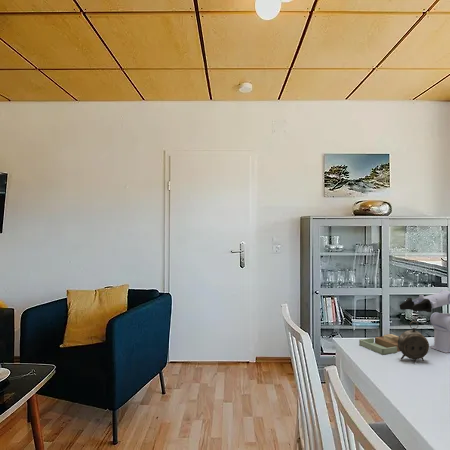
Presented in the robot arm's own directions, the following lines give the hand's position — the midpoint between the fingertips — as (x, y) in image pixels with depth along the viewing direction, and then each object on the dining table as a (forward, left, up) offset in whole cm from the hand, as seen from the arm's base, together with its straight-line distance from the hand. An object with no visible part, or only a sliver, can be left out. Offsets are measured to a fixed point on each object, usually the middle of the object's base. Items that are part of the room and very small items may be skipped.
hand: (406, 307), depth 161 cm
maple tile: (-1, -9, -16) cm, 19 cm away
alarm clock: (+5, +8, -20) cm, 22 cm away
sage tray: (+7, -9, -19) cm, 23 cm away
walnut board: (-1, -9, -19) cm, 21 cm away
